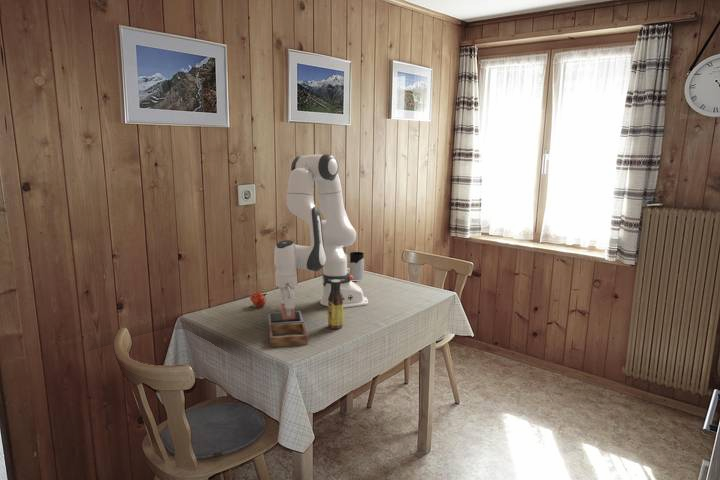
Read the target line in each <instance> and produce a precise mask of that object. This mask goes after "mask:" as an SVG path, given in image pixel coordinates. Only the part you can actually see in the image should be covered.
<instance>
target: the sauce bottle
mask: <svg viewBox="0 0 720 480" xmlns="http://www.w3.org/2000/svg"><path fill="white" fill-rule="evenodd" d="M340 284H341V281H340V280H338V279H334V280H331V292H330V295H329V298H328V306H327V324H328V327H329V328H330V329H332V330H333V329H334V330H336V329H337V330H338V329H341V328H343V326H344V308H343V295H342V294H341V292H340Z"/></svg>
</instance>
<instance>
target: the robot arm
mask: <svg viewBox="0 0 720 480" xmlns="http://www.w3.org/2000/svg"><path fill="white" fill-rule="evenodd" d="M290 171H291V172H290V174H289V178H288V182H287V188H286V207H287V208H288V209H289V212H291V213H292V214H293V215H294V216H297V217H298V218H300V219H302V220H303V221H305V222H306V223H307V224H308V227H309V233H310V234H309V235H310V244H311V245H309V246H308V245H299V244H295V243H294V241H293V240H287V239H286V240H284V239H283V240H281V241H278V242H276V244H275V245H274V255H273V256H274V257H273V258H274V260H273V261H274V262H273V263H274V267H275V272H274V276H275V278H274V279H275V286H276V287H277V288H278V289H279V291H280V295H281V299H282V302H283V303H282V304H284V306H285V309H286V313H287V316H291V309H294V306H295V296H294V290H295V287H296V286H298V270H299V269H300V270H301V269H302V270H309V271H313V272H318V271H320V270H321V269H322V268H323V273H322V283H321V284H322V293H321V299H320V302H319V303H320V304H321V305H322V306H324V307H325V306H326V307H328V298H329V295H330V292H331V280H334V279H338V280H340V281H341V284H340V292H341V294H342V295H343V309H345V308H346V309H347V308H352V307H353V308H354V307H360V306H361V307H362V306H367V305H368V304H369V299H368V297H366V296H364V292H363V289H362V288H361V287H360V286H359V285H358V284H357V283H356V282H352V281H351V280H353V276H352V275H351V274H350V273H349V272H348V271H347V270H348V257H347V256H346V254H347V253H345V252H344V249H343V248H345V247H346V248H347V247H350V246H352V245H353V244H354V243H355V242H356V240H357V231H356V229H355V228H354V227H353V225H352V223H351V222H350V219H349V217H348V214H347V211H346V208H345V203H344V197H343V190H342V184H341V179H340V176H339V162H338V160H337V159H336V158H335V156H333V155H331V154H327V153H326V154H320V153H319V154H318V153H317V154H316V153H315V154H308V155H299V156H297V157H295V158H294V159H293V160H292V162H291V167H290ZM315 182H316V190H317V192H316V193H317V200H318V207H319V208H317V207H316V205H315V200H314V183H315ZM321 214H322V215H321ZM321 216H323V217H324V219H322V217H321ZM297 269H298V270H297Z"/></svg>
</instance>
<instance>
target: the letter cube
mask: <svg viewBox="0 0 720 480" xmlns="http://www.w3.org/2000/svg"><path fill="white" fill-rule="evenodd" d="M280 308H281V309H280V310H281V312H282V318H283V319H293V318H295V311H296V308H295V305H294V309H291V316H287V313H286V309H285V306H284V303H281V304H280Z"/></svg>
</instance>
